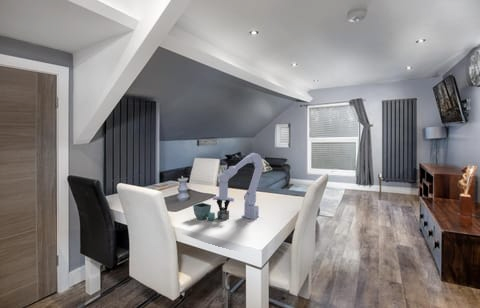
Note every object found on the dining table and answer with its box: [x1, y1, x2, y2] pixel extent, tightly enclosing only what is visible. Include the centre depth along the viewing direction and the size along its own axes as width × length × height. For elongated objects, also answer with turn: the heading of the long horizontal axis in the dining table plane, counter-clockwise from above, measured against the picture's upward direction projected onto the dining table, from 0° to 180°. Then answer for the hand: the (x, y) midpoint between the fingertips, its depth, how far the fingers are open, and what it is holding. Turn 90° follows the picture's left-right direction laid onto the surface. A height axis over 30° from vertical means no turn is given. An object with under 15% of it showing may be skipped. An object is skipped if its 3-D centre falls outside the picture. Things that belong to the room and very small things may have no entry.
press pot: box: [216, 210, 230, 221], centre depth 161 cm, size 8×9×4 cm
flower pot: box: [192, 202, 212, 220], centre depth 160 cm, size 9×9×9 cm
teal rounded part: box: [207, 211, 216, 222], centre depth 157 cm, size 5×5×4 cm
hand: (223, 211), depth 161 cm, fingers closed on plunger, 3 cm apart
